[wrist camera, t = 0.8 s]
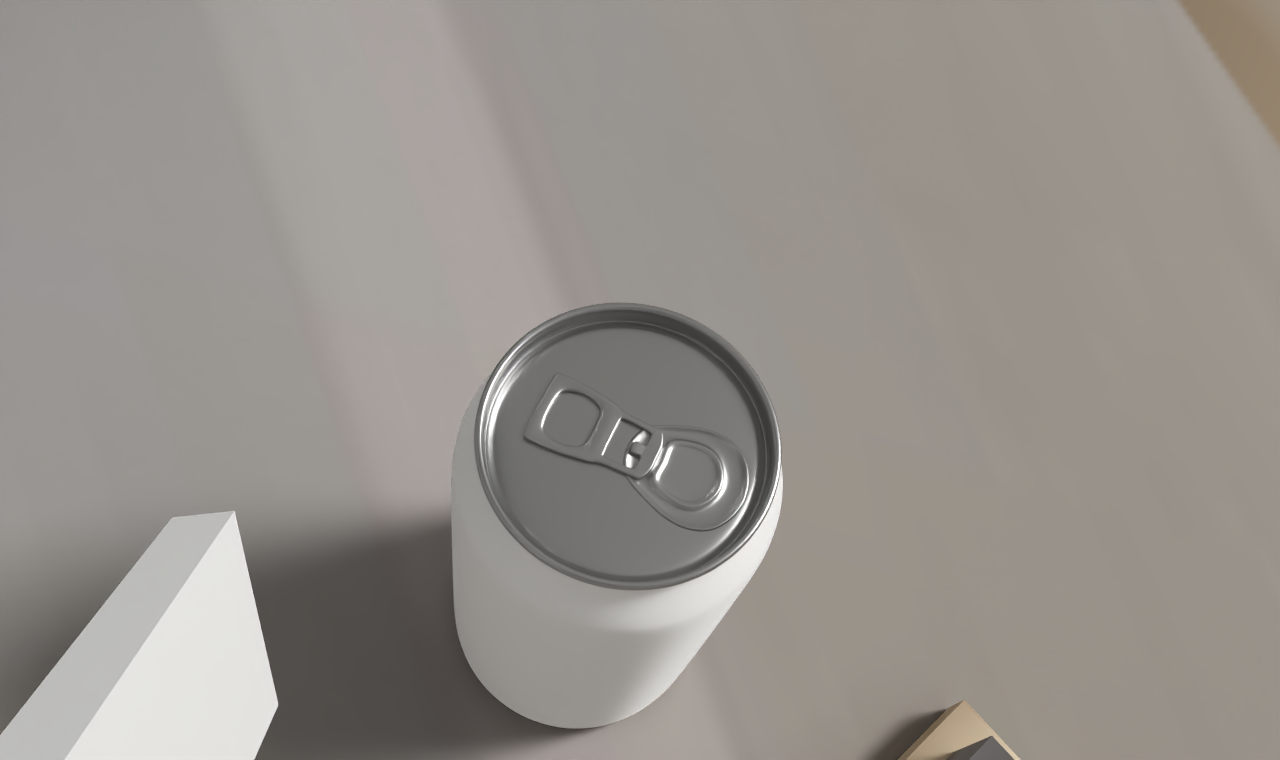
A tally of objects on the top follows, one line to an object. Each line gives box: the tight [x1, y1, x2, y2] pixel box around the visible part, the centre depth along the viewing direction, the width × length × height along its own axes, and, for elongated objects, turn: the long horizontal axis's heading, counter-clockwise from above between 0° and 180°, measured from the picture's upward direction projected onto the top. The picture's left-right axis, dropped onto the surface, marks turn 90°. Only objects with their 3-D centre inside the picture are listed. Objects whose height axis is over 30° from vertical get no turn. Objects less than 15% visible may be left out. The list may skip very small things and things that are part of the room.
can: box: [451, 303, 783, 728], centre depth 27 cm, size 6×6×12 cm
